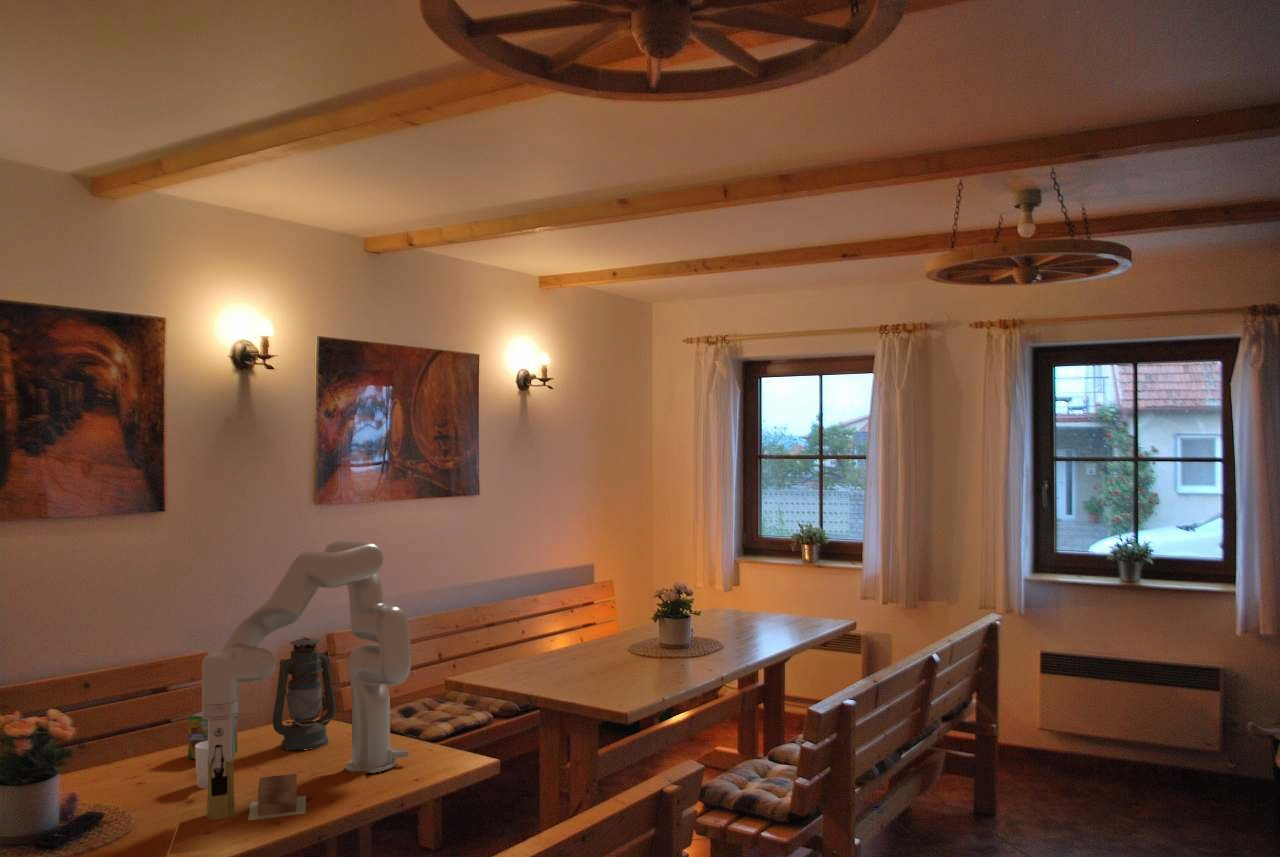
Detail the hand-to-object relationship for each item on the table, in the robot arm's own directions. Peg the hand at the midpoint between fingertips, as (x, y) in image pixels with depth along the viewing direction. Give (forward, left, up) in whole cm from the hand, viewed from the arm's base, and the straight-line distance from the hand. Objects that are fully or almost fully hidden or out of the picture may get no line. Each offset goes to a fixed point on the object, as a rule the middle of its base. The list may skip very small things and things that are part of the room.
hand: (220, 789), depth 220 cm
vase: (0, 0, -7) cm, 7 cm away
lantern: (-18, -53, -7) cm, 56 cm away
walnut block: (-12, 0, -6) cm, 13 cm away
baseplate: (-12, 0, -7) cm, 14 cm away
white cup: (+4, -26, -7) cm, 27 cm away
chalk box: (+6, -52, -7) cm, 53 cm away
